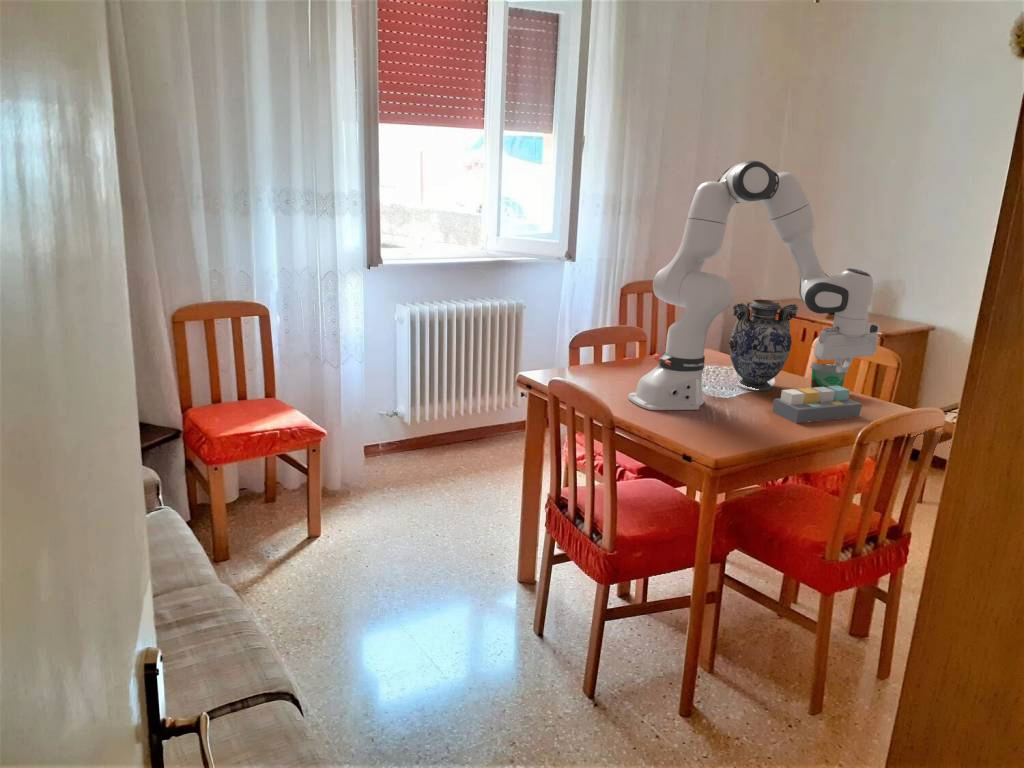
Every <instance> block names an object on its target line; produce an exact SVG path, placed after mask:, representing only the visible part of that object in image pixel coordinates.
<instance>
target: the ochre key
mask: <svg viewBox="0 0 1024 768" xmlns="http://www.w3.org/2000/svg"><path fill="white" fill-rule="evenodd" d="M796 390H797V391H800V392H802V393H805V396H804V402H803V403H806V404H809V403H818V402H819V396H820V392H818V391H816V390H813V389H811V387H802V388H796Z"/></svg>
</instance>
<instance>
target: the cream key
mask: <svg viewBox="0 0 1024 768" xmlns="http://www.w3.org/2000/svg"><path fill="white" fill-rule="evenodd" d="M804 396H805V393H802V392H800V391H797V389H795V388H791V389H781V395H780V398H781V399H780V400H781V401H783V402H785V403H787V404H789V405H798V404H803V402H804Z"/></svg>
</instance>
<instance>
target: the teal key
mask: <svg viewBox="0 0 1024 768" xmlns="http://www.w3.org/2000/svg"><path fill="white" fill-rule="evenodd" d="M827 388H829V389H831V390H834V391H835V394H834V400H835V401H842V400H848V398H849V395H850V392H851V391H850V389H848V388H846V387H844V386H842V387H841V386H839V385H838V386H827Z"/></svg>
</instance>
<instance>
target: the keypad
mask: <svg viewBox="0 0 1024 768" xmlns="http://www.w3.org/2000/svg"><path fill="white" fill-rule="evenodd" d="M780 399H781V397H780V398H774V400H773V407H772V412H773V414H776V415H777V416H780V417H782V418H784V419H787V420H789V421H790V420H791V422H792V421H793V423H794V422H795V423H794V424H802V423H801V422H805V423H809V422H808V421H815V422H818V421H817V420H824V421H830V420H829V419H834V420H839V419H838V418H844V419H848V418H847V417H854V418H860V416H861V411H862V407H863V406H862V405H863V404H862V403H861V402H859V401H855V400H854V399H851V398H849V397H848V400H842V401H835V400H833V401H831V402H818V403H809V404H806V403H803V404H798V405H789V404H787V403H785V402H783V401H781V400H780Z"/></svg>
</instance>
